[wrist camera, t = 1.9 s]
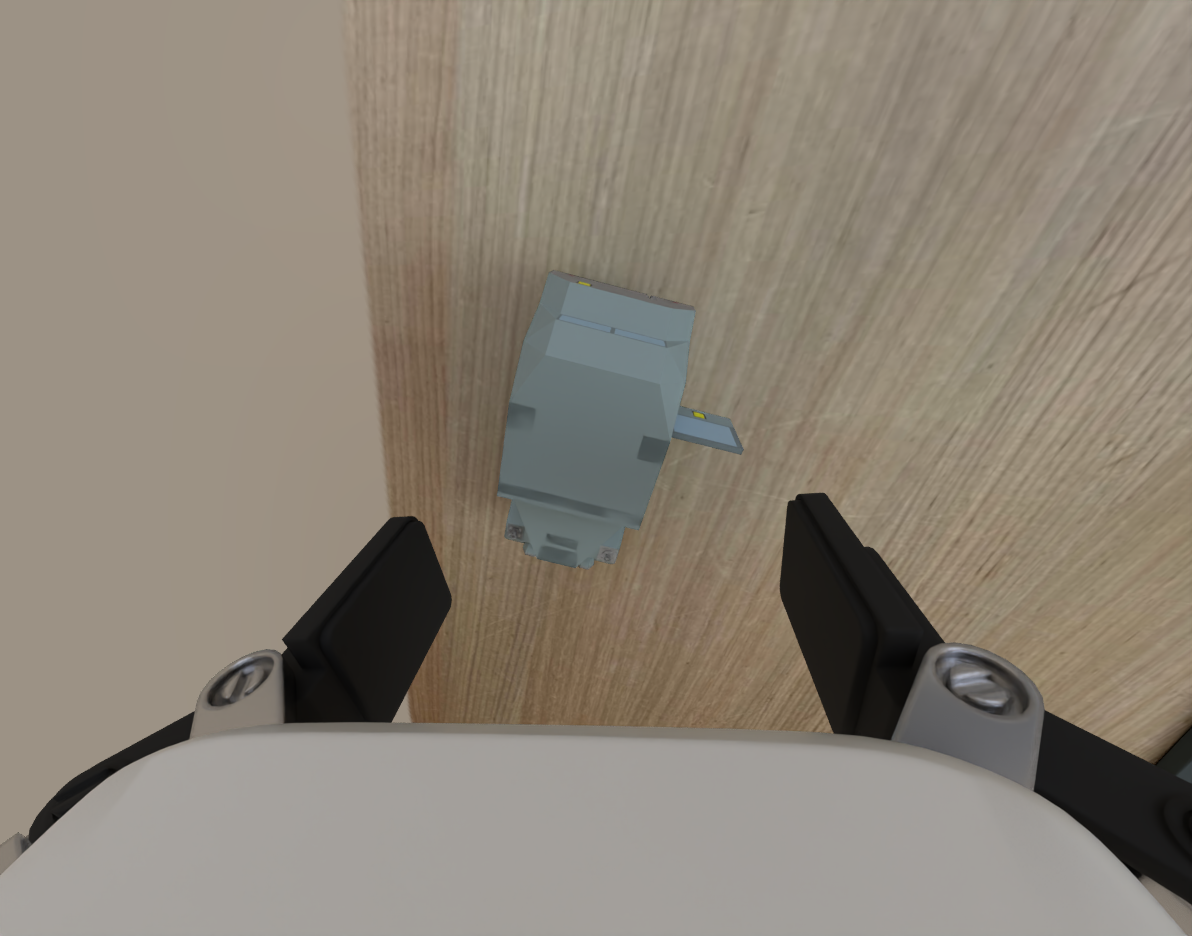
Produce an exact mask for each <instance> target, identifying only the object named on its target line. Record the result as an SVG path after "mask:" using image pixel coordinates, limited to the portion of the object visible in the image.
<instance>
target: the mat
mask: <svg viewBox="0 0 1192 936" xmlns="http://www.w3.org/2000/svg"><path fill="white" fill-rule="evenodd" d="M1156 766H1157V767H1159V768H1161V769H1163V770H1165V771H1167V772H1169V773H1171V774H1173V775H1175V776H1177V777H1179V778H1181V779H1183V780H1185V781H1187V782H1189V783H1191V784H1192V728H1191V729H1190V730H1189V731H1188V732H1187V733H1186V734H1185V735H1184V736H1183V737H1182V738H1181V739H1180V740H1179V741H1178V742H1177V744H1176V745H1175V746H1174V747H1173V748H1172V749H1171V750H1170V751H1169V752H1168V753H1167V754H1166V755H1165V756H1164V757H1163V758H1162V759H1161V760H1160V761H1159V762H1158V764H1157V765H1156Z"/></svg>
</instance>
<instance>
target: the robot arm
mask: <svg viewBox="0 0 1192 936" xmlns="http://www.w3.org/2000/svg"><path fill="white" fill-rule="evenodd" d="M780 594H781V599H782V602H783V604H784V607H785V609H786V612H787V615H788V617H789V620H790V622H791V625H792V627H793V630H794V633H795V635H796V638H797V640H798V643H799V645H800V648H801V651H802V653H803V656H804V658H805V661H806V664H807V666H808V669H809V671H810V674H811V676H812V679H813V682H814V684H815V687H816V689H817V692H818V694H819V697H820V700H821V702H822V705H823V707H824V710H825V712H826V715H827V718H828V720H829V723H830V725H831V728H832V730H833V732H834V734H832V733H820V732H801V731H776V730H750V729H723V728H678V727H634V726H586V725H528V724H465V723H391V722H392V720H393V718H394V717H395V715H396V712H397V711H398V709H399V707H400V705H401V703H402V701H403V699H404V697H405V695H406V693H407V691H408V689H409V687H410V685H411V683H412V681H413V680H414V678H415V676H416V674H417V672H418V670H419V668H420V666H421V664H422V662H423V660H424V658H425V656H426V654H427V652H428V650H429V648H430V646H431V644H432V643H433V641H434V639H435V637H436V635H437V633H438V631H439V629H440V627H441V625H442V623H443V621H444V619H445V617H446V615H447V613H448V611H449V609H450V607H451V601H452V598H451V593H450V591H449V588H448V586H447V583H446V580H445V578H444V575H443V573H442V570H441V567H440V565H439V562H438V560H437V557H436V554H435V552H434V549H433V547H432V544H431V541H430V539H429V536H428V534H427V531H426V528H425V526H424V524H423V523H422V522H421V521H418V520H417V518H415V517H413V516H407V517H393V518H390V519H389V520H388V521H387V522H386V523H385V524H384V526H383V527H382V528H381V529H380V530H379V531H378V532H377V533H376V535H375V536H374V537H373V538H372V539H371V540H370V541H369V542H368V543H367V545H366V546H365V547H364V548H363V549H362V550H361V551H360V552H359V554H358V555H357V556H356V557H355V558H354V559H353V560H352V562H351V563H350V564H349V565H348V566H347V567H346V568H345V569H344V570H343V572H342V573H341V574H340V575H339V576H338V577H337V578H336V579H335V580H334V582H333V583H332V584H331V585H330V586H329V587H328V588H327V589H326V591H325V592H324V593H323V594H322V595H321V596H320V597H319V598H318V600H317V601H316V602H315V603H314V604H313V605H312V606H311V608H310V609H309V610H308V611H307V612H306V613H305V614H304V615H303V616H302V617H301V619H300V620H299V621H298V622H297V623H296V624H295V625H294V626H293V628H292V629H291V630H290V631H289V632H288V633H287V634H286V635H285V637H284V638H283V639H282V640H283V641H284V643H285V645H286V646H287V647H288V648H287V649H286V650H285V651H284V653H283V654H282V655H281V654H280V653H279V652H277V651H276V650H268V649H266V650H261V651H256V652H253V653H251V654H248V655H245V656H243V657H241V658H240V659H238V660H236V661H234V662H232V663H231V664H229V665H228V666H226V667H225V668H224V669H222V670H221V671H220V672H218V673H217V674H216V675H215V676H214V677H213V678H212V679H211V680H210V681H209V682H208V683H207V685H206V686H205V687H204V689H203V690H202V691H201V693H200V695H199V698H198V700H197V704H196V709H195V711H194V712H192V713H190V714H188V715H187V716H185V717H183V718H181V719H179V720H178V721H176V722H174V723H172V724H170V725H168V726H166V727H165V728H163V729H161V730H159V731H157V732H155V733H154V734H152V735H150V736H148V737H146V738H144V739H142V740H141V741H139V742H137V743H135V744H133V745H132V746H130V747H128V748H126V749H124V750H122V751H120V752H119V753H117V754H115V755H113V756H111V757H110V758H108V759H106V760H104V761H102V762H100V763H98V764H97V765H95V766H93V767H92V768H90V769H88V770H87V771H85V772H83V773H81V774H80V775H78V776H77V777H75V778H73V779H72V780H71V781H69V782H68V783H67V784H66V785H65V786H64V787H63V788H62V789H61V790H60V791H58V793H57V794H56V795H55V796H54V797H53V798H52V799H51V800H50V801H49V802H48V803H47V804H46V806H45V807H44V808H43V809H42V810H41V812H40V813H39V814H38V816H37V817H36V819H35V820H34V822H33V824H32V826H31V828H30V830H29V835H27V836H26V837H25V836H23V835H22V834H20V833H19V832H18V833H17V834H15V835H14V836H12V837H11V838H9V839H8V840H7V841H5V842H4V843H2V844H1V845H0V936H1192V784H1191V783H1189V782H1187V781H1185V780H1183V779H1181V778H1179V777H1177V776H1175V775H1173V774H1171V773H1169V772H1167V771H1165V770H1163V769H1161V768H1159V767H1157V766H1155V765H1153V764H1151V763H1149V762H1147V761H1145V760H1143V759H1141V758H1139V757H1137V756H1135V755H1133V754H1131V753H1129V752H1127V751H1125V750H1123V749H1121V748H1119V747H1117V746H1115V745H1113V744H1111V743H1109V742H1107V741H1105V740H1103V739H1101V738H1099V737H1097V736H1095V735H1093V734H1091V733H1089V732H1087V731H1085V730H1083V729H1081V728H1079V727H1077V726H1075V725H1073V724H1071V723H1069V722H1067V721H1065V720H1063V719H1061V718H1059V717H1057V716H1055V715H1053V714H1051V713H1049V712H1047V711H1045V710H1044V703H1043V697H1042V695H1041V694H1040V692H1039V690H1038V689H1037V687H1036V685H1035V684H1034V683H1033V682H1032V681H1031V680H1030V679H1029V678H1028V677H1027V676H1026V675H1025V673H1024V672H1023V671H1021V670H1020V669H1019V668H1017V667H1016V666H1014V665H1013V664H1012V663H1010V662H1009V661H1007V660H1006V659H1004V658H1002V657H1000V656H998V655H996V654H994V653H992V652H990V651H988V650H985V649H982V648H979V647H976V646H973V645H968V644H962V643H955V642H953V643H945V642H944V641H943V640H942V638H941V637H940V636H939V634H938V633H937V632H936V630H935V629H934V628H933V626H932V625H931V624H930V622H929V621H928V620H927V618H926V617H925V616H924V614H923V613H922V612H921V610H920V609H919V608H918V606H917V605H916V604H915V602H914V601H913V600H912V598H911V597H910V596H909V594H908V593H907V592H906V590H905V589H904V588H903V586H902V585H901V584H900V582H899V581H898V580H897V578H896V577H895V575H894V574H893V573H892V571H891V570H890V569H889V567H888V566H887V565H886V563H885V562H884V561H883V559H882V558H881V557H880V555H879V554H878V553H877V552H876V551H875V550H874V549H873V548H870V547H864V546H863V545H862V544H861V542H860V541H859V539H858V538H857V537H856V535H855V534H854V532H853V531H852V530H851V528H850V527H849V526H848V524H847V523H846V521H845V520H844V519H843V517H842V516H841V514H840V513H839V512H838V510H837V509H836V507H835V506H834V505H833V503H832V502H831V501H830V499H829V498H828V496H827V495H826V494H825V493H809V494H798V495H797V496H796V499H795V500H793V501H789V502H788V506H787V515H786V526H785V536H784V547H783V557H782V567H781V578H780Z"/></svg>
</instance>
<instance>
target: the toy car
mask: <svg viewBox="0 0 1192 936" xmlns="http://www.w3.org/2000/svg"><path fill="white" fill-rule="evenodd" d="M695 312H696V310H695V309H694V307H693V306H689V305H686V304H682V303H678V302H674V301H670V300H666V299H663V298H659V297H655V296H651V297H650V299H649V297H648V296H647V294H643V293H640V292H636V291H632V290H628V289H624V288H620V287H617V286H613V285H609V284H605V283H601V282H597V281H594V280H590V279H586V278H582V277H578V276H574V275H571V274H567V273H563V272H559V271H555V270H553V271H551V272H549V274H548V277H547V281H546V284H545V287H544V290H543V294H542V297H541V300H540V303H539V306H538V308H537V310H536V313H535V315H534V317H533V320H532V322H531V324H530V327H529V329H528V332H527V334H526V336H525V339H524V341H523V345H522V350H521V354H520V358H519V363H518V367H517V371H516V376H515V380H514V384H513V388H512V393H511V397H510V401H509V408H508V416H507V424H506V431H505V439H504V447H503V454H502V462H501V469H500V477H499V485H498V492H497V496H500V497H504V498H508V499H512V502H511V506H510V510H509V514H508V519H507V523H506V530H505V536H504V537H505V538H506V539H508V540H513V541H517V542H521V543H525V544H524V546H523V550H524V552H525V555H529V556H534V557H535V556H536V557H537V559H540V560H544V561H548V562H552V563H556V564H561V565H565V566H569V567H573V568H576V567H577V566H579V567H580V568H584V569H590V568H591V567H592V566H593V565H594V560H596V561H600V562H604V563H608V564H615V561H616V558H617V555H618V552H619V549H620V545H621V541H622V537H623V533H624V530H625V527H627V528H631V529H635V530H639V528H640V525H641V522H642V519H643V517H644V514H645V511H646V508H647V505H648V503H649V500H650V497H651V494H652V491H653V489H654V486H655V483H656V480H657V477H658V475H659V472H660V469H661V466H662V464H663V461H664V458H665V455H666V452H667V450H668V447H669V444H670V441H671V437H672V438H676V439H680V440H684V441H688V442H692V443H696V444H700V445H704V446H708V447H712V448H716V449H720V450H724V451H728V452H732V453H736V454H740V455H741V454H742V452H743V450H744V449H743V447H742V445H741V443H740V440H739V438H738V436H737V434H736V431H735V429H734V427H733V425H732V422H731V420H730V419H729V418H725V417H721V416H717V415H713V414H709V413H705V412H701V411H697V410H693V409H689V408H685V407H682V406H680V402H681V398H682V395H683V391H684V387H685V383H686V375H687V365H688V354H689V344H690V338H691V333H692V327H693V322H694V317H695Z"/></svg>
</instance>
